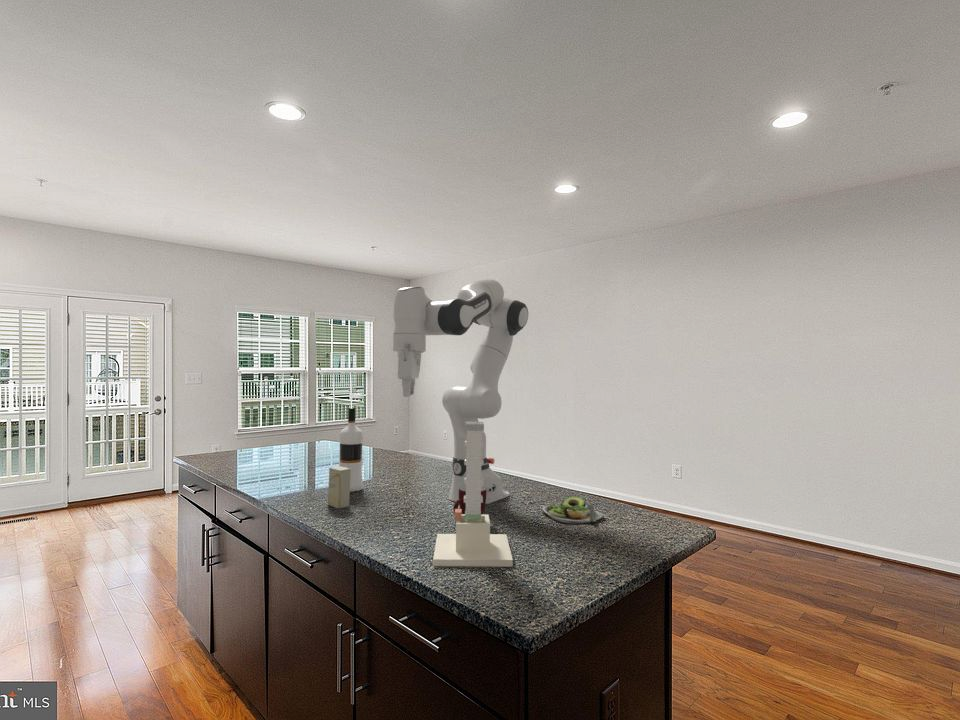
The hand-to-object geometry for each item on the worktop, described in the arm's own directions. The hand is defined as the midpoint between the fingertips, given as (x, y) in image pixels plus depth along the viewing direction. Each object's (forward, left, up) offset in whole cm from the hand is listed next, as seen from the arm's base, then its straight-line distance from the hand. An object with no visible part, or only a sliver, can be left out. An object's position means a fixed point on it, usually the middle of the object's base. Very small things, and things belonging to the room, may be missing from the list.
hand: (408, 395), depth 138 cm
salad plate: (-48, +20, -38) cm, 65 cm away
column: (-3, +23, -29) cm, 37 cm away
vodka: (-14, -53, -37) cm, 66 cm away
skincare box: (0, -36, -37) cm, 52 cm away
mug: (-18, +6, -37) cm, 42 cm away
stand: (-3, +23, -37) cm, 44 cm away
